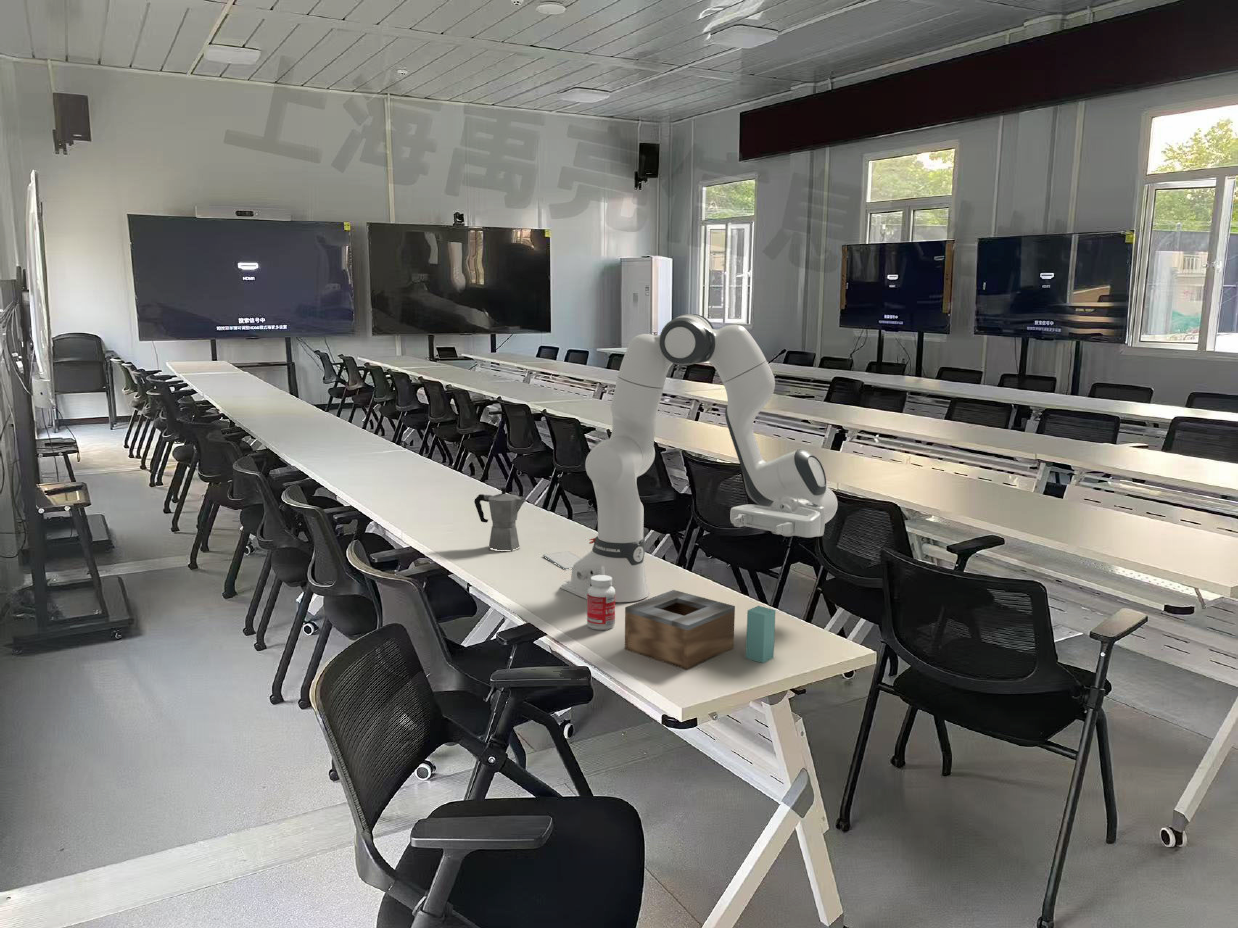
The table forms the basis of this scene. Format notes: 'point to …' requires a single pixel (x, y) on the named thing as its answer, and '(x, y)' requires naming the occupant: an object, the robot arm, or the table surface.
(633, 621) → the drop box
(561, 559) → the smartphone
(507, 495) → the coffeepot
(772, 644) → the block
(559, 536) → the table surface
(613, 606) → the pill bottle
